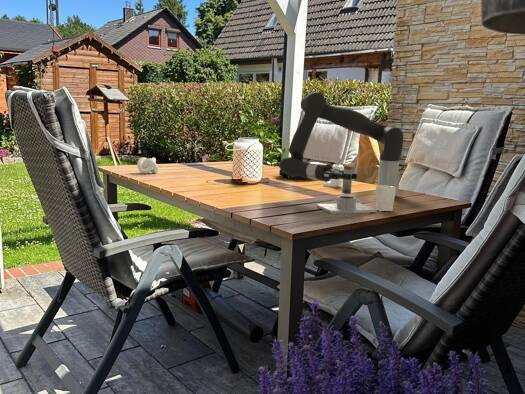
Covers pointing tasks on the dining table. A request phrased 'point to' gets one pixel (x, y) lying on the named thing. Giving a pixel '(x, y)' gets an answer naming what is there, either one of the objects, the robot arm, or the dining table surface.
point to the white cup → (385, 197)
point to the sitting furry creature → (333, 181)
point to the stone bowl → (288, 175)
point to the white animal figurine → (147, 165)
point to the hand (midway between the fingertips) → (353, 177)
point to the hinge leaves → (345, 206)
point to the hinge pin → (347, 183)
